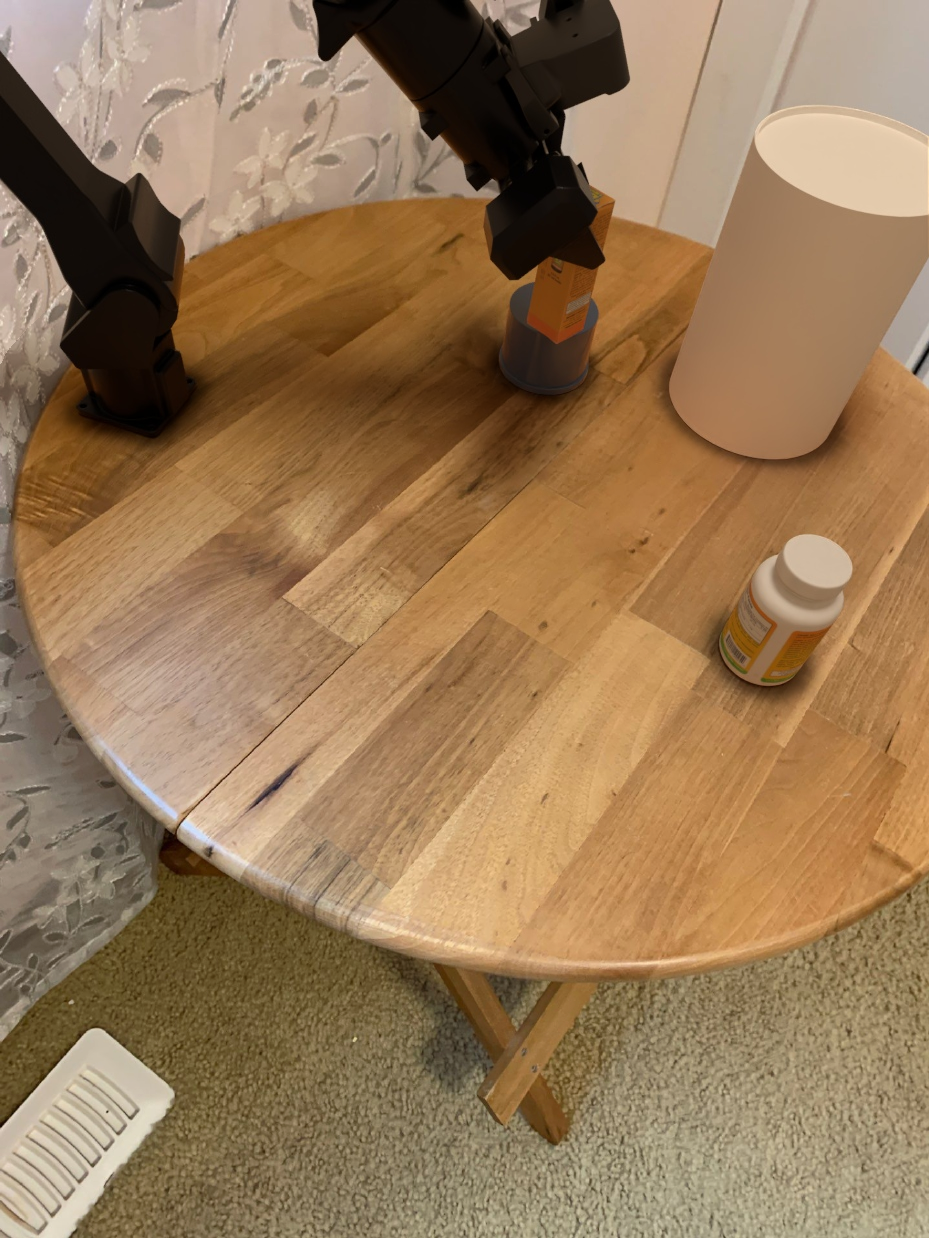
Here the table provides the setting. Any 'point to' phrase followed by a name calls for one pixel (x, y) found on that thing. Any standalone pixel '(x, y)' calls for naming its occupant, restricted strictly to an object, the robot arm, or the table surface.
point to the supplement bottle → (786, 610)
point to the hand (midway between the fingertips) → (592, 244)
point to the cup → (543, 350)
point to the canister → (803, 278)
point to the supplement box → (567, 284)
